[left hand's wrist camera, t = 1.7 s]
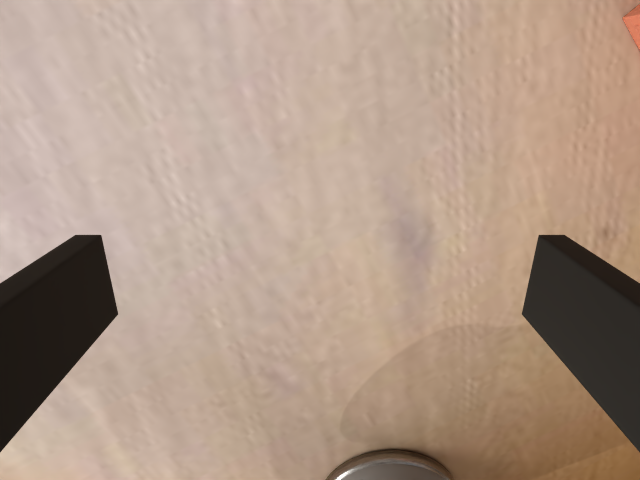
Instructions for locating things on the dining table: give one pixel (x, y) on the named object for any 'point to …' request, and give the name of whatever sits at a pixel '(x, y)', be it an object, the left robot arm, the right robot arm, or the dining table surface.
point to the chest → (634, 24)
